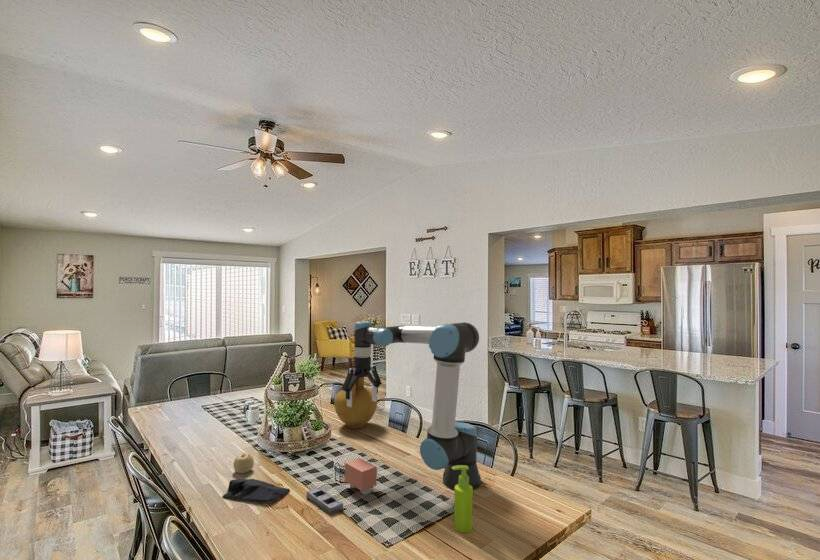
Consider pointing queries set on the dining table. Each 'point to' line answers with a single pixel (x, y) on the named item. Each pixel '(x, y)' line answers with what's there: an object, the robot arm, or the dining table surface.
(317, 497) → the rail
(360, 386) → the vase
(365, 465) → the pink toy cube
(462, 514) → the soap dispenser
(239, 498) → the black crumpled cloth
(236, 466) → the apple
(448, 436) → the robot arm
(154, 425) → the dining table surface
